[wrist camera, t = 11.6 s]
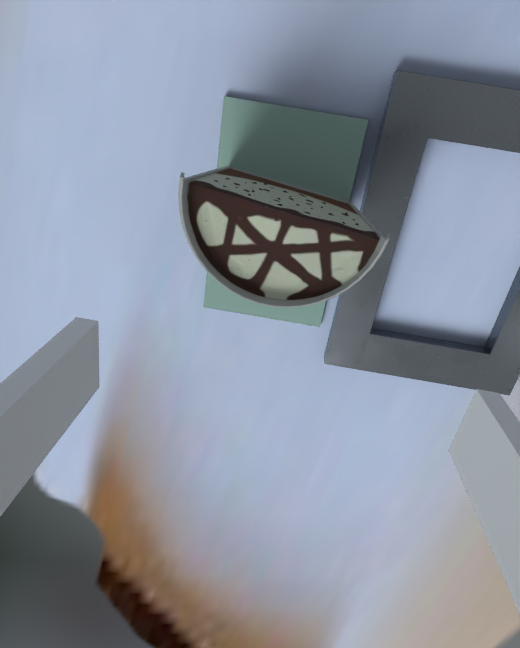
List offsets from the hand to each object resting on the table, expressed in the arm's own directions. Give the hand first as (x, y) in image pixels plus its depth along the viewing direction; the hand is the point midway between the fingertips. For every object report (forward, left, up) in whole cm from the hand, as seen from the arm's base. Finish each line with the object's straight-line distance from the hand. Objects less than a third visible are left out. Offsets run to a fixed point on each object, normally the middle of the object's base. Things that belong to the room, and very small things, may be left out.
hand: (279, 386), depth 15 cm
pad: (+1, -1, -21) cm, 21 cm away
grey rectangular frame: (-13, -1, -21) cm, 24 cm away
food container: (+1, -1, -21) cm, 21 cm away
